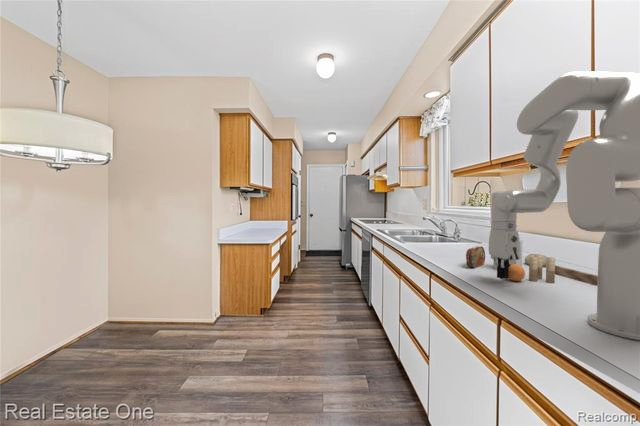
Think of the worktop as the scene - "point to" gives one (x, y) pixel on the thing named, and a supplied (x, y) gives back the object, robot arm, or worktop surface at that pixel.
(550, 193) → the robot arm
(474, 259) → the tin
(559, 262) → the worktop surface
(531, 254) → the sea urchin shell
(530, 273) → the front pin
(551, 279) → the back right pin
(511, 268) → the ball
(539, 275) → the back left pin
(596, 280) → the brown wooden bar
